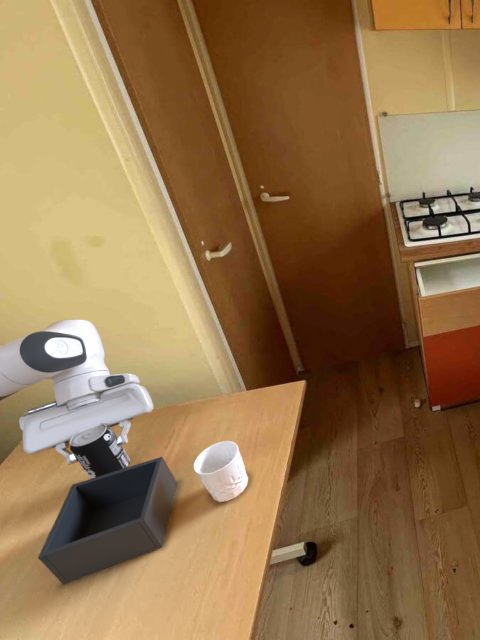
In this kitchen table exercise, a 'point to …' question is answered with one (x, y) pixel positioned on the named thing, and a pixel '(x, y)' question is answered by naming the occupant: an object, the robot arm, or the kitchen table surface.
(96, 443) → the beverage can
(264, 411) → the kitchen table surface
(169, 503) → the bin
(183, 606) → the kitchen table surface
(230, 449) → the white cup
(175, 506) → the kitchen table surface
